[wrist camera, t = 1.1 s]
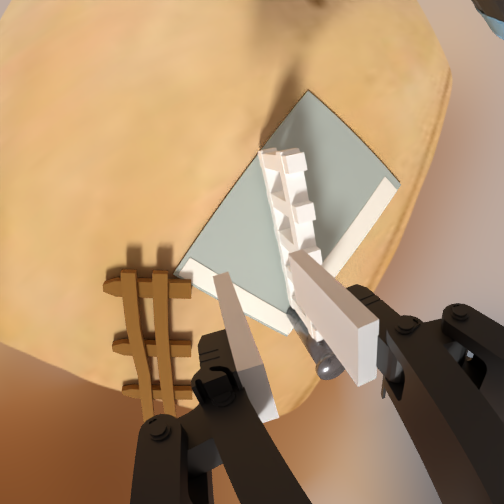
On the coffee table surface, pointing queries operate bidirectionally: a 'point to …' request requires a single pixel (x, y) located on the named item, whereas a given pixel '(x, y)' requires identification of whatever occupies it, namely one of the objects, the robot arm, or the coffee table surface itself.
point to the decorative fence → (160, 348)
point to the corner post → (316, 349)
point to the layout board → (261, 223)
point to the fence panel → (290, 214)
